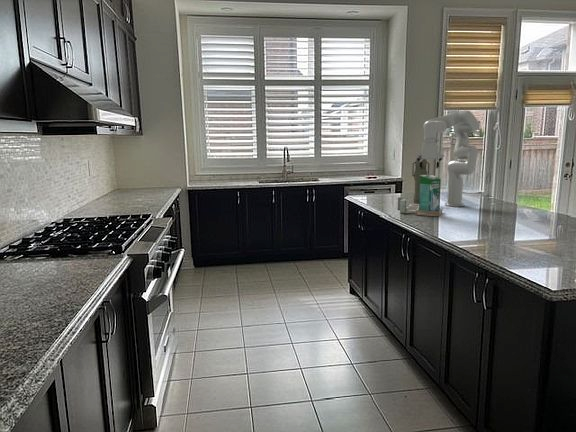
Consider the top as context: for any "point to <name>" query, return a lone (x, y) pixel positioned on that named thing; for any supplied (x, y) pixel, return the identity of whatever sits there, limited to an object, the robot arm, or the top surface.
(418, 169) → the thermos
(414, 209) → the cube sled
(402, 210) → the carton sled
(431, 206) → the milk carton
